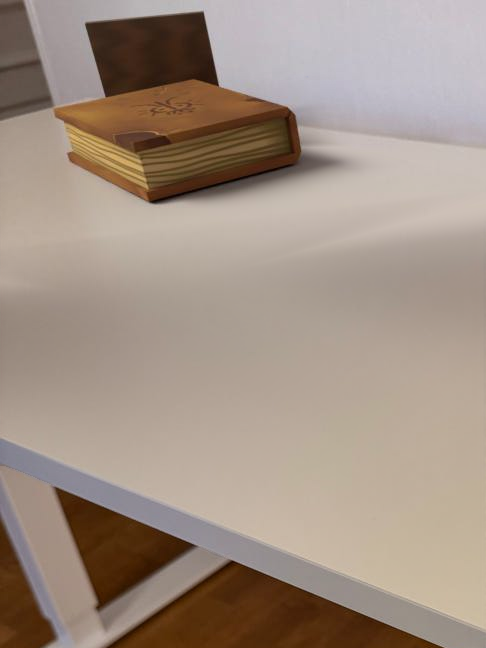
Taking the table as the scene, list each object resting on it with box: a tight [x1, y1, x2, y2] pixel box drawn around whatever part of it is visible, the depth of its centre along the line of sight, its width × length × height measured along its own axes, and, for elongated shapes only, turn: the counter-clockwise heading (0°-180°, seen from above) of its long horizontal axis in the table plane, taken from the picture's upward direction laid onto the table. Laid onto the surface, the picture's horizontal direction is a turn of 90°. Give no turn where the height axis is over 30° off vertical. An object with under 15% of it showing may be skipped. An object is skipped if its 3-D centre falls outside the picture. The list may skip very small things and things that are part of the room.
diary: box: [52, 79, 303, 202], centre depth 107 cm, size 23×19×6 cm
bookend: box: [84, 10, 221, 98], centre depth 118 cm, size 14×4×12 cm, turn 102°
